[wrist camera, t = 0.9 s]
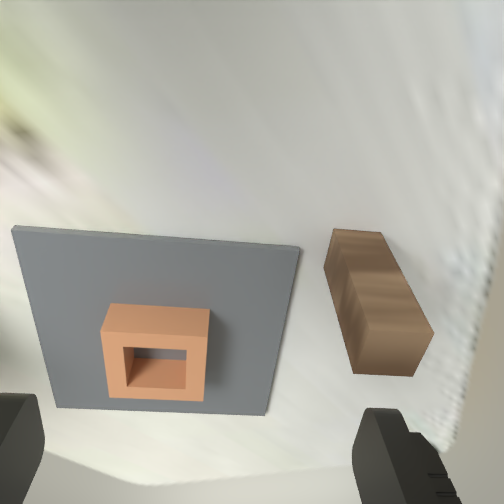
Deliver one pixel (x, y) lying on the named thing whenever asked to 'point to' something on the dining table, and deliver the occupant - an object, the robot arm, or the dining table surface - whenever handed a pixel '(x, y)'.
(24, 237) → the socket holder
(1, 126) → the dining table surface
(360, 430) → the robot arm
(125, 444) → the dining table surface
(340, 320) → the walnut peg
